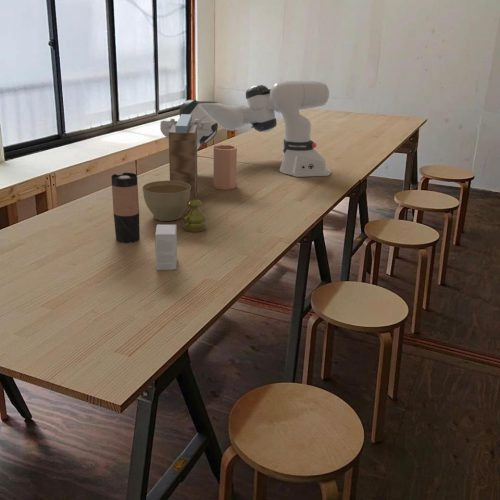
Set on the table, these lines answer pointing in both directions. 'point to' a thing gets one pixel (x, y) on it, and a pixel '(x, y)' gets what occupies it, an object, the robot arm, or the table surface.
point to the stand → (184, 157)
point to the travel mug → (126, 207)
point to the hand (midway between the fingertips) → (184, 121)
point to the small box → (166, 247)
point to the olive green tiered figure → (194, 217)
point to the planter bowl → (166, 199)
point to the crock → (225, 167)
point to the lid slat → (183, 123)
